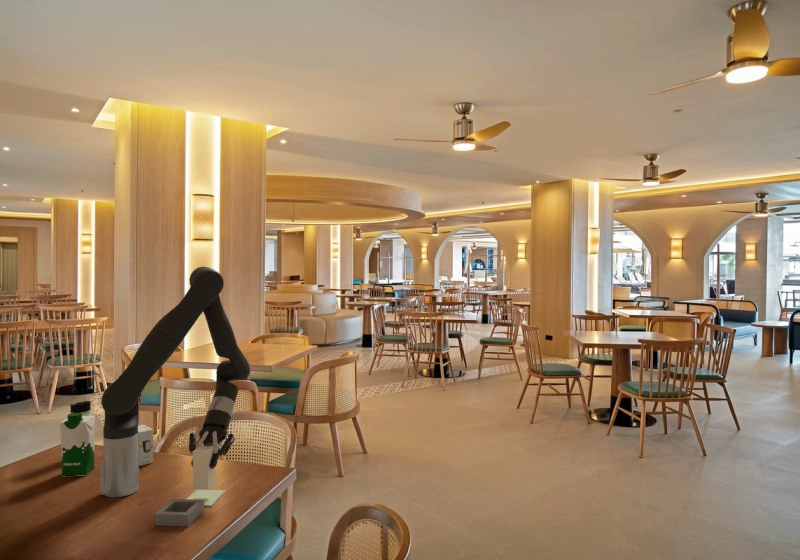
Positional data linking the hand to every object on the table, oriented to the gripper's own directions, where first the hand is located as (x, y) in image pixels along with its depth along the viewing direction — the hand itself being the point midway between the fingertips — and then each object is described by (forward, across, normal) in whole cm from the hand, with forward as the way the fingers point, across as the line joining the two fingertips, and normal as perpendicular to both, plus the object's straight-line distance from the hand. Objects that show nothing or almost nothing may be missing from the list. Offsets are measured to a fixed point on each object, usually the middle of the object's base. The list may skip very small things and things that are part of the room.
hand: (202, 467), depth 152 cm
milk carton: (-5, -50, +18) cm, 54 cm away
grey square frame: (+15, -1, -1) cm, 15 cm away
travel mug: (-15, -59, +28) cm, 67 cm away
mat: (+6, 0, +7) cm, 9 cm away
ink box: (-13, -35, +26) cm, 46 cm away
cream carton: (+4, 0, +5) cm, 6 cm away
